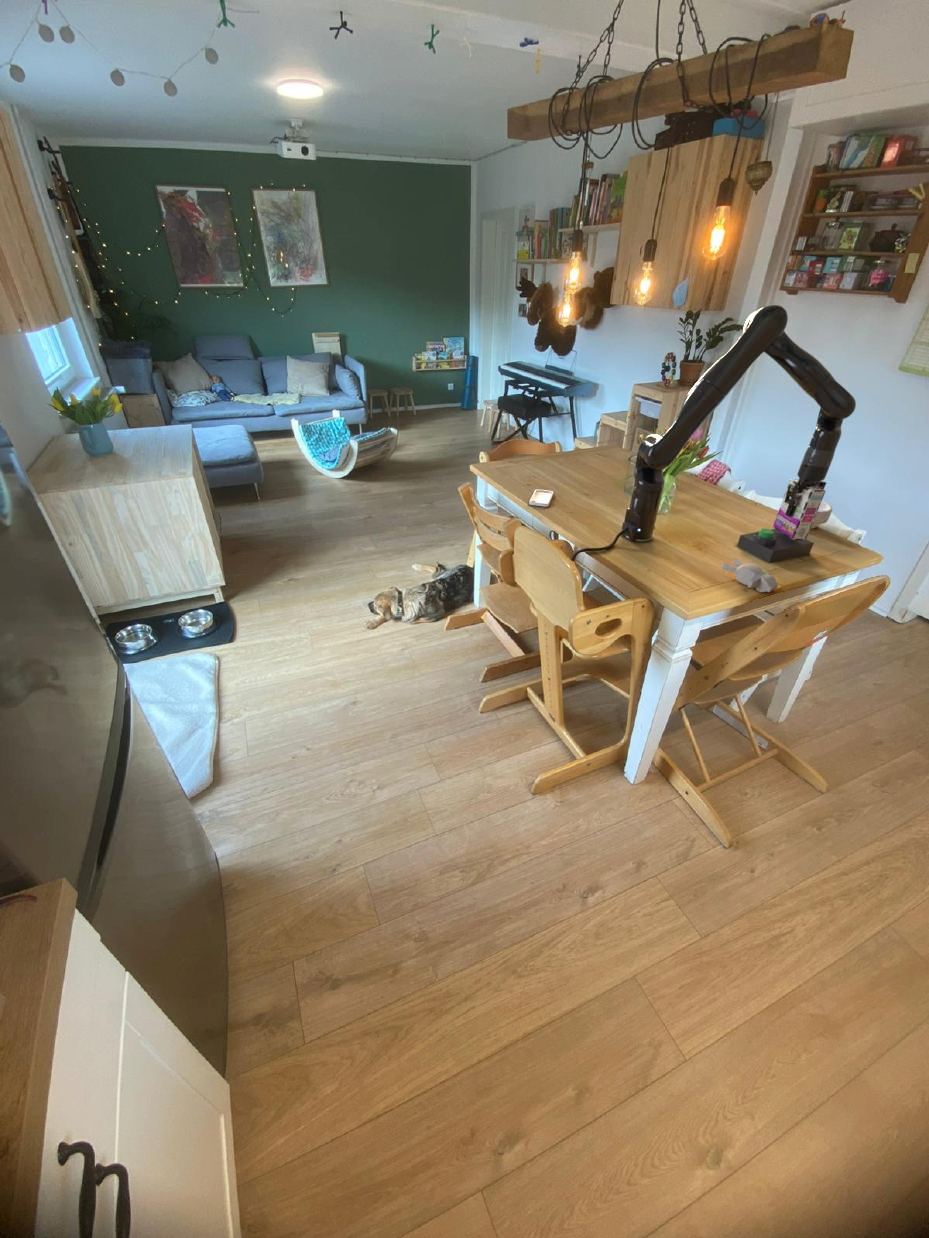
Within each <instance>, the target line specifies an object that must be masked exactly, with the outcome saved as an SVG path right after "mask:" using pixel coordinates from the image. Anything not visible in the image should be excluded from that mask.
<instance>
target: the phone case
mask: <svg viewBox="0 0 929 1238" xmlns="http://www.w3.org/2000/svg"><path fill="white" fill-rule="evenodd" d="M553 496H554V491H553V490H545V489H538V488H537V489H535V490H534V491H533V493H532V495H531V497H530V499H529V503H528V504H529V505H530V506H537V507H545V508H547V507H549V505H550V503H551V501H552V498H553Z"/></svg>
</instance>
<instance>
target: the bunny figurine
mask: <svg viewBox="0 0 929 1238" xmlns="http://www.w3.org/2000/svg"><path fill="white" fill-rule="evenodd" d="M732 563H733V564H734V565H735V566H734V565H732V564H730V563H726V562H723V563H722V564H721V566H720V568H721V569H722V570H724V571H728V572H732V573H734V575H735V579H736V581H738V582H739V583H740V584H742V585H744V586H747V588H749V589H752V588H755V589H756V591H757V592H760V593H765V592H767V593H770V592H773V591H775V590H776V589H777V588H778V587H779V583H778V582H777V579H776V578H775V577H774V576H773V575H772V573H771V572H769V571H764V570H762V568H761V566H759V565H757V564H755V563H752V562H749V563H743V562H742V561H741V560H740V559H738V558H733V559H732Z"/></svg>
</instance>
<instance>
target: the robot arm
mask: <svg viewBox="0 0 929 1238" xmlns="http://www.w3.org/2000/svg"><path fill="white" fill-rule="evenodd" d="M788 320H789V316H788V312H787V309H785V307H783V306H782V305H778V304H770V305H766V306H764V307H761V308H759V309H758V310H756V311H753V312H752V313H751V314H750V315H749V316H748V317H747V319H746V321H745V323H744V326H743V333H742V335H741V336H739V338H738V340H737V341H736V342H735V344H734V345H733V346H732V347H731V348H730V349H729V350H728V351H727V352H726V353H725V354H723V356H721V357H720V358H719V359H718V360H717V361H716V362H715V363H714V364H713V365H712V366H711V367H710V368H708V369H707V370H706V371H705V372H704V373H703V375H702V376H701V377H700V378H699V379H698V381H697V382H696V383H695V384H694V385H693V386H692V388H691V389H690V391H689V392H688V394H686V397H685V399H684V400H683V403H682V405H681V407H680V410H679V413H678V415H677V417H676V419H675V421H674V422H673V424H672V425H671V426H670V427H669V428H668V430H667V431H666V432H665V433H664V434H663V435H660V434H654V433H653V434H650V435H648V436H646V437H645V438H644V439H643V440H642V441H641V443H640V444H639V447H638V449H637V454H636V459H635V464H634V470H633V478H634V479H633V480H634V484H633V488H632V493H631V497H630V503H629V507H628V508H626V510H625V516H624V520H623V521H622V526H621V530H620V531H619V532H618V534H616V536H615V538H614V540H613V541H612V542H611V543H610V544H609V545H606V546H603V547H586V548H585V547H584V548H581V549H577V550H576V551H575V552H574V553H573V555H572V557H571V558H570V560H571V559H572V560H573V561H574V560H575V559H576V557H577V556H578V555H579V554H581V553H585V552H601V551H605V550H606V551H607V550H610V549H611V548H613V547H614V546H615V545H616V543H617V542H618V540H619V538H620V537H621V536H623V537H625V538H626V539H628V540H629V541H631V542H639V543H645V542H649V541H652V540H653V536H654V530H656V522H657V517H658V513H659V508H660V504H661V500H662V496H663V493H664V487H665V484H666V483H665V482H666V481H665V478H664V474H663V473H664V472H663V471H664V470H665V469H667V468H668V467H669V466H671V465H672V463H673V462H674V461H675V460H676V458H677V457H678V456H679V455H680V453H681V452H682V450H683V449H684V447H685V446H686V445H687V443H689V440H690V439H691V438H692V437H693V435H694V434H695V433H696V432H697V431H698V430H699V428H700V427H701V426H702V425H703V424H704V423H705V421H706V420H707V419H708V418H709V417H710V415H711V414H712V413H713V412H714V411H715V410H716V409H717V408H718V407H719V406H720V405H721V404H722V402H723V401H724V400H725V399H726V398H727V396H728V395H729V394H730V392H731V391H732V390H734V388H735V387H736V385H737V384H738V383H739V381H740V380H741V379H742V378H743V377H744V375H745V374H746V373H747V371H748V370H749V368H750V367H751V366H752V365H753V364H754V362H756V360H758V359H759V357H760V356H761V355H762V354H763V353H765V354H766V355H767V356H768V357H770V358H771V360H773V361H775V363H777V365H779V366H780V367H781V368H782V370H784V372H786V374H787V375H789V376H790V378H791V379H792V380H793V381H794V382H795V383H796V384H797V385H798V386H799V387H800V388H801V389H802V391H803V392H804V393H805V394H807V396H809V397H810V398H811V399H813V400H814V401H815V402H816V404H817V405H818V406H819V407H820V408H819V411H818V416H817V420H816V425H815V429H814V432H813V434H812V436H811V439H810V441H809V444H808V447H807V448H806V450H805V452H804V455H803V457H802V460H801V463H800V466H799V468H798V471H797V474H796V475H797V477H798V479H797V480H798V482H797V483H796V484H795V485H792V484H790V485H789V484H788V485H789V486H788V485H787V487H788V490H787V489H786V490H787V494H786V498H785V502H786V503H788V504H789V505H788V508H787V511H786V515H787V516H789V517H792V516H793V515H794V512H795V510H796V507H797V506H796V505H797V504H798V502H799V500H800V499H801V498H802V494H801V495H800V496H798V495H796V494H797V493H801V492H802V491H803V489H804V487H811V486H817V487H819V488H821V489H823V490H825V487H826V485H827V482H826V481H824V480H825V479H826V477H827V474H828V472H829V470H830V467H831V465H832V462H833V460H834V457H835V453H836V449H837V447H838V445H839V443H840V440H841V437H842V425H843V422H844V420H845V419H848V418H849V417H851V415H852V414H853V413H855V410H856V407H857V401H856V399H855V397H854V396H853V395H852V394H851V393H850V392H849V391H848V390H847V389H846V388H845V387H844V386H843V385H841V384H840V383H839V382H838V381H837V380H836V379H835V377H834V376H833V375H832V373H831V372H830V371H829V370H828V369H827V368H826V367H825V365H823V363H821V362H820V360H819V359H817V358H816V357H815V356H814V355H812V354H811V353H809V352H808V351H806V350H805V349H803V348H802V347H801V346H799V345H798V344H797V343H796V342H794V341H793V340H792V338H791V337H790V336H789V335H788V334H787V333H786V332H785V329H786V328H787V326H788ZM790 497H791V498H790ZM789 498H790V499H789ZM795 498H797V499H796V501H795ZM572 560H571V561H572Z"/></svg>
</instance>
